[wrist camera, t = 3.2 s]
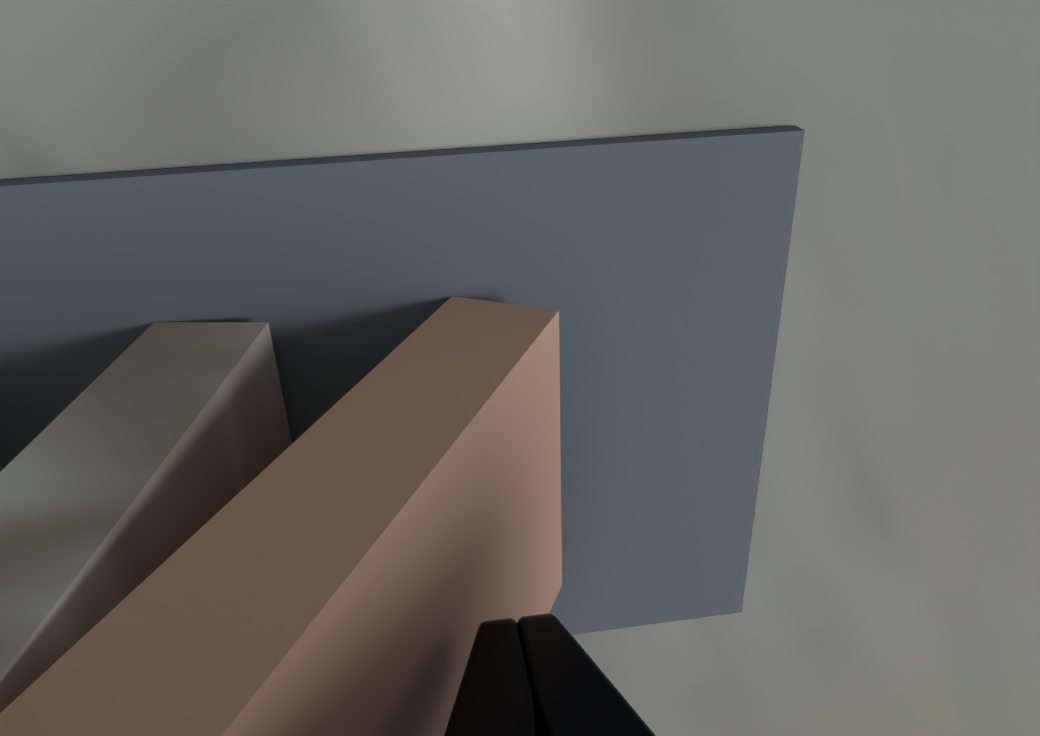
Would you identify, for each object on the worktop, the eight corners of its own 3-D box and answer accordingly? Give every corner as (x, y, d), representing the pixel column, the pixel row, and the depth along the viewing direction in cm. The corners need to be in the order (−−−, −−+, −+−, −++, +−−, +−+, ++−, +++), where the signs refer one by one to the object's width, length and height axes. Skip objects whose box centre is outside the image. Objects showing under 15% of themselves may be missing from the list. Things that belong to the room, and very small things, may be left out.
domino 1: (267, 322, 11) (-243, 999, 4) (322, 596, 14) (51, 1312, 7) (154, 321, 11) (-521, 979, 4) (227, 593, 14) (-135, 1296, 7)
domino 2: (559, 309, 11) (114, 871, 5) (562, 585, 14) (269, 1204, 7) (452, 296, 12) (-77, 784, 5) (473, 563, 14) (126, 1122, 8)
